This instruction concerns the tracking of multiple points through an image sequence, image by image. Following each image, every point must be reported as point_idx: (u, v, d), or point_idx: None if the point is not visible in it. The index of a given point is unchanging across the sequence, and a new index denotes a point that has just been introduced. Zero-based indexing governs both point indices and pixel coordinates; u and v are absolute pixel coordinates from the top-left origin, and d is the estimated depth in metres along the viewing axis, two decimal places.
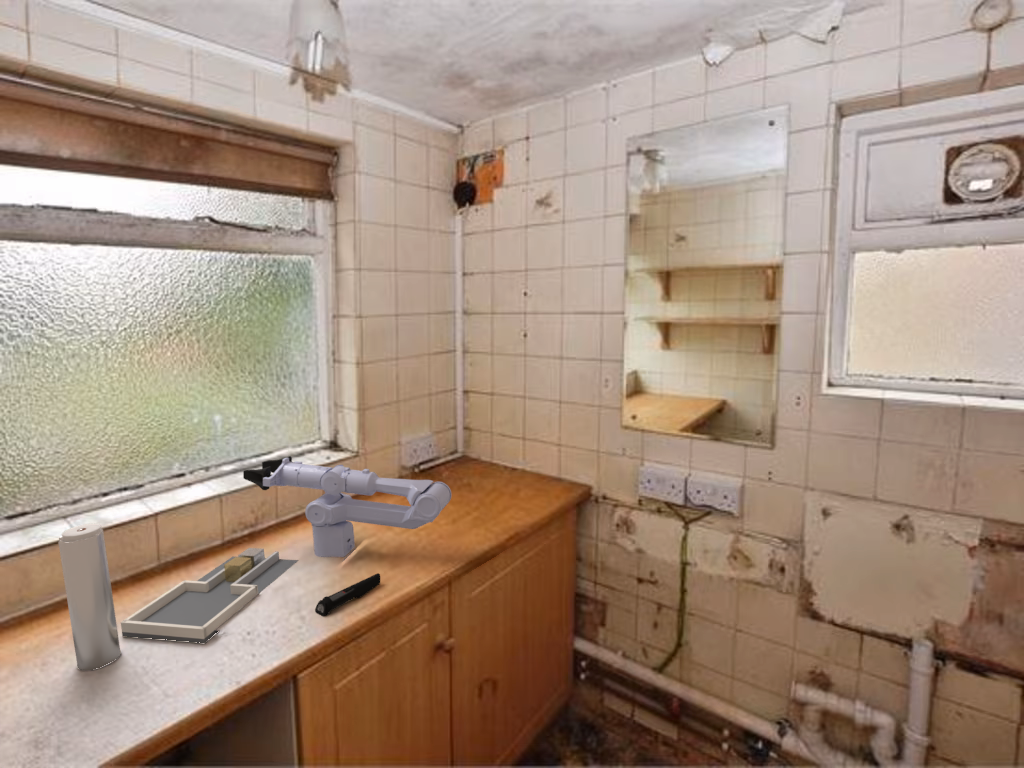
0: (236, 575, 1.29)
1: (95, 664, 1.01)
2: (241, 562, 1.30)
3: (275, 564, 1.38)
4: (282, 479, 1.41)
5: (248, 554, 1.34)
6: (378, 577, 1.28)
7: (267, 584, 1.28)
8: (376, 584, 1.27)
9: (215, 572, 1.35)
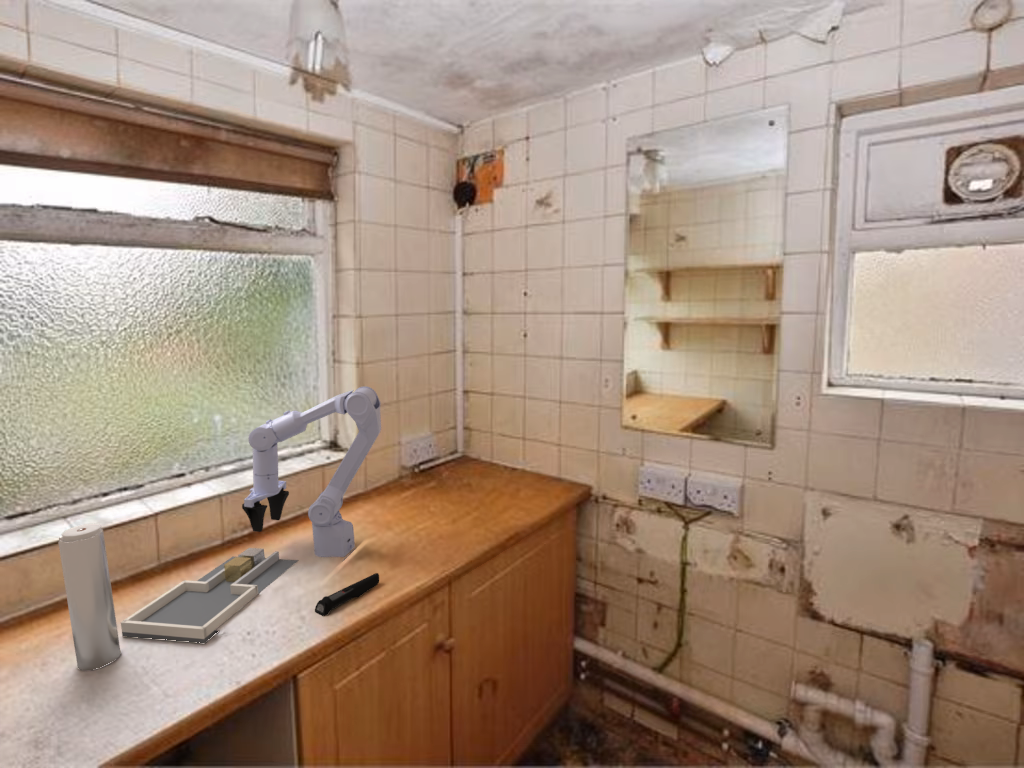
0: (236, 575, 1.29)
1: (95, 664, 1.01)
2: (241, 562, 1.30)
3: (275, 564, 1.38)
4: (261, 491, 1.39)
5: (248, 554, 1.34)
6: (377, 577, 1.28)
7: (267, 584, 1.28)
8: (375, 584, 1.27)
9: (215, 572, 1.35)
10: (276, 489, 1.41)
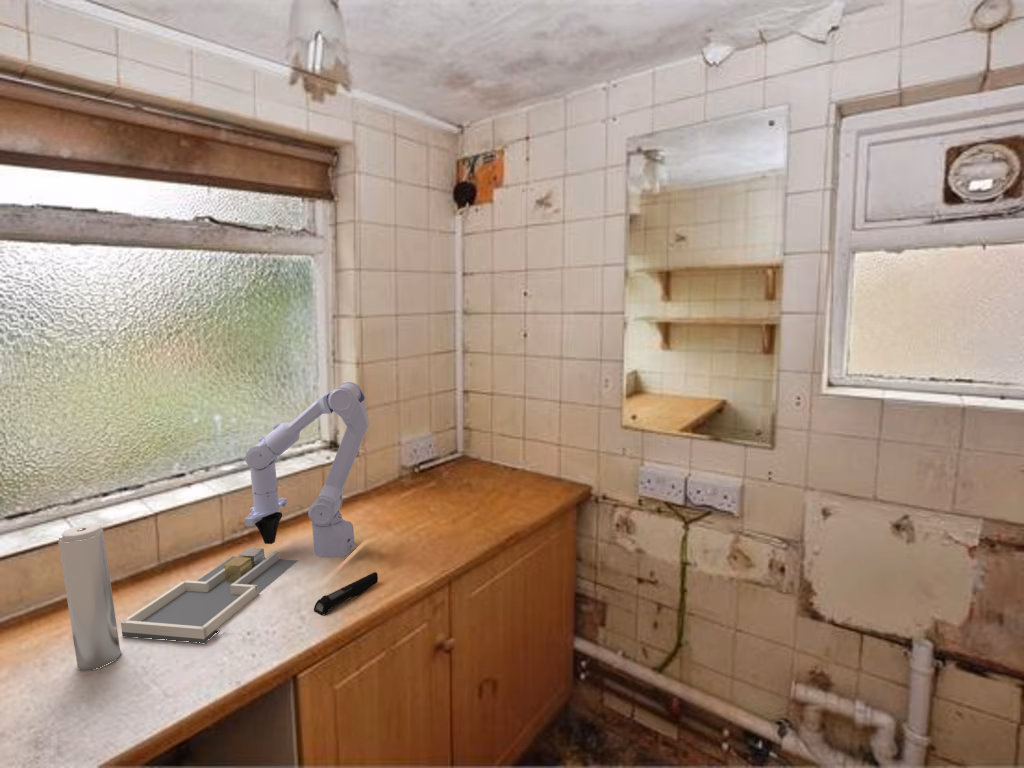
0: (236, 575, 1.29)
1: (95, 664, 1.01)
2: (241, 562, 1.30)
3: (275, 564, 1.38)
4: (261, 510, 1.39)
5: (248, 554, 1.34)
6: (375, 576, 1.28)
7: (267, 584, 1.28)
8: (374, 583, 1.27)
9: (215, 572, 1.35)
10: (276, 506, 1.41)
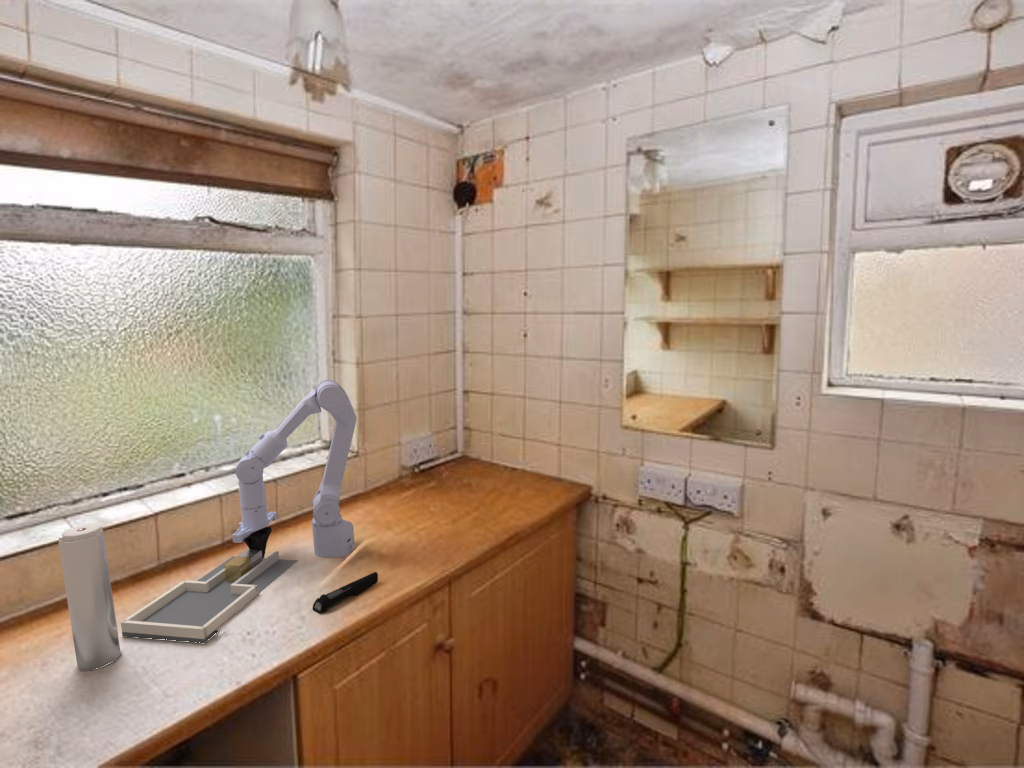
0: (236, 575, 1.29)
1: (95, 664, 1.01)
2: (241, 562, 1.30)
3: (275, 564, 1.38)
4: (249, 525, 1.35)
5: (246, 556, 1.34)
6: (375, 575, 1.28)
7: (267, 584, 1.28)
8: (374, 583, 1.27)
9: (215, 572, 1.35)
10: (265, 521, 1.37)
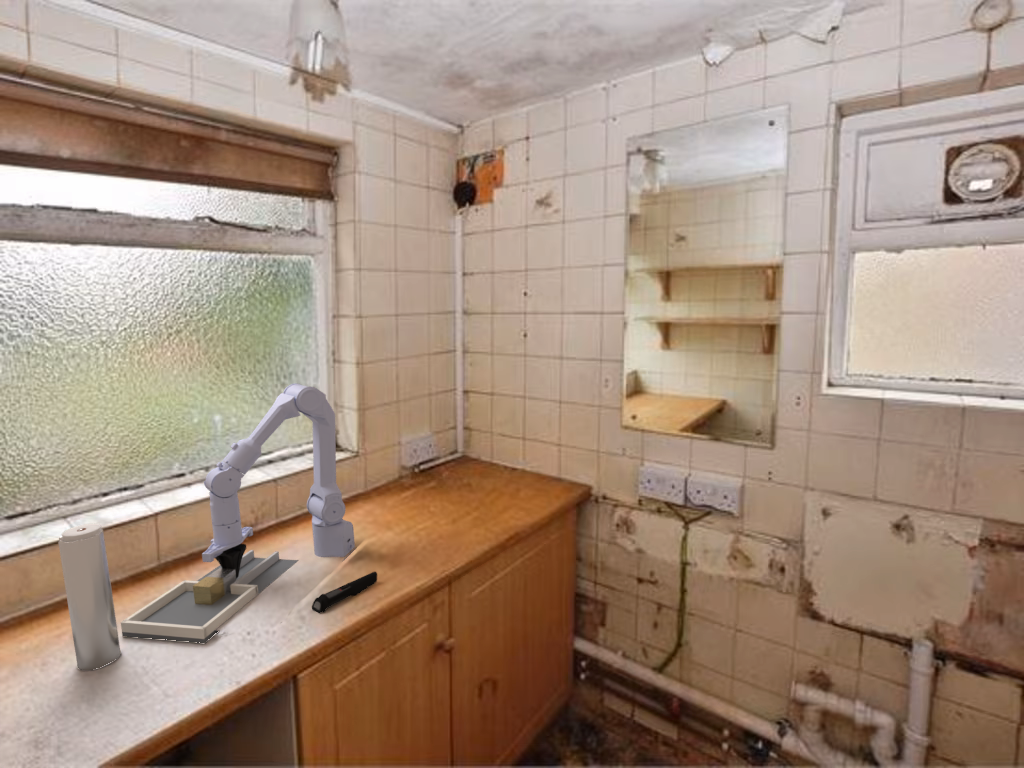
0: (206, 597, 1.20)
1: (95, 664, 1.01)
2: (211, 583, 1.21)
3: (275, 564, 1.38)
4: (222, 542, 1.25)
5: (218, 576, 1.24)
6: (375, 575, 1.29)
7: (267, 584, 1.28)
8: (373, 582, 1.28)
9: None
10: (239, 538, 1.27)
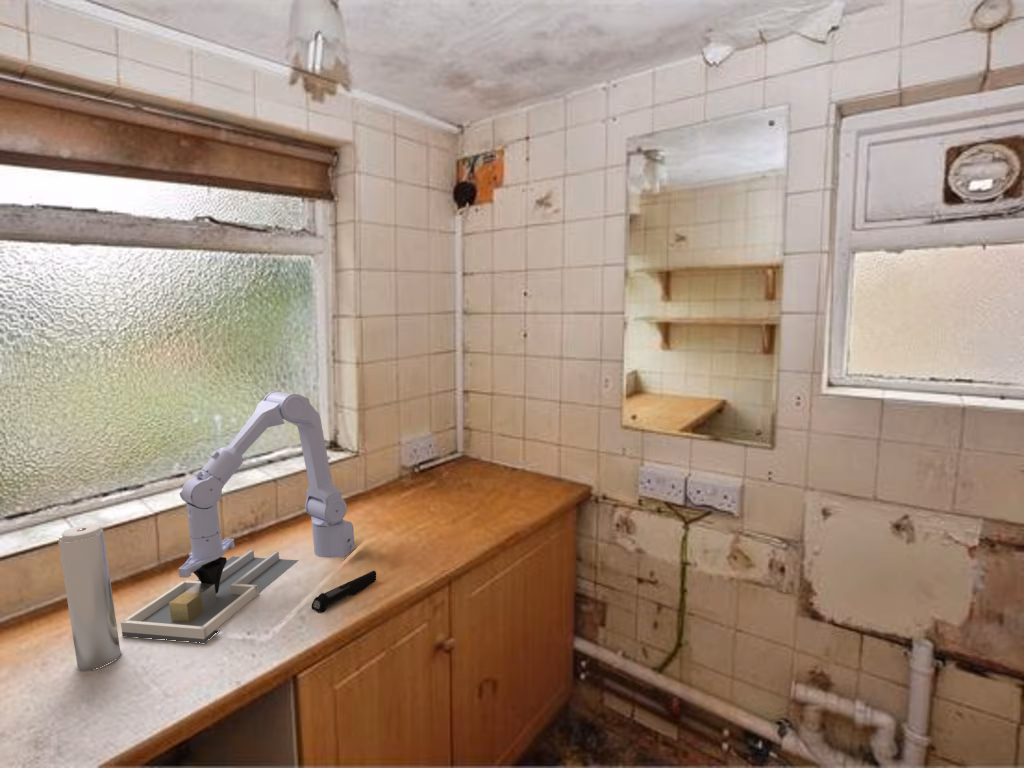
0: (183, 614, 1.13)
1: (95, 664, 1.01)
2: (189, 599, 1.14)
3: (275, 564, 1.38)
4: (200, 556, 1.19)
5: (195, 591, 1.17)
6: (374, 574, 1.29)
7: (267, 584, 1.28)
8: (372, 581, 1.28)
9: None
10: (219, 551, 1.21)
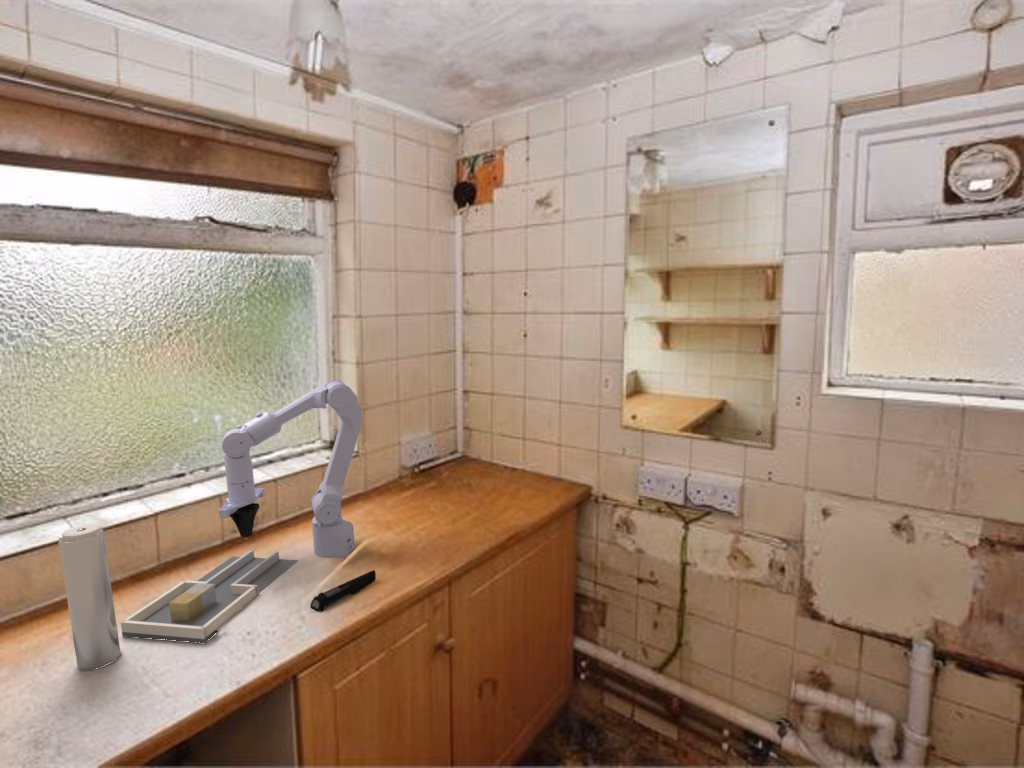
0: (183, 614, 1.13)
1: (95, 664, 1.01)
2: (189, 599, 1.14)
3: (275, 564, 1.38)
4: (236, 500, 1.32)
5: (195, 591, 1.17)
6: (373, 574, 1.29)
7: (267, 584, 1.28)
8: (372, 581, 1.28)
9: (215, 572, 1.35)
10: (253, 497, 1.34)
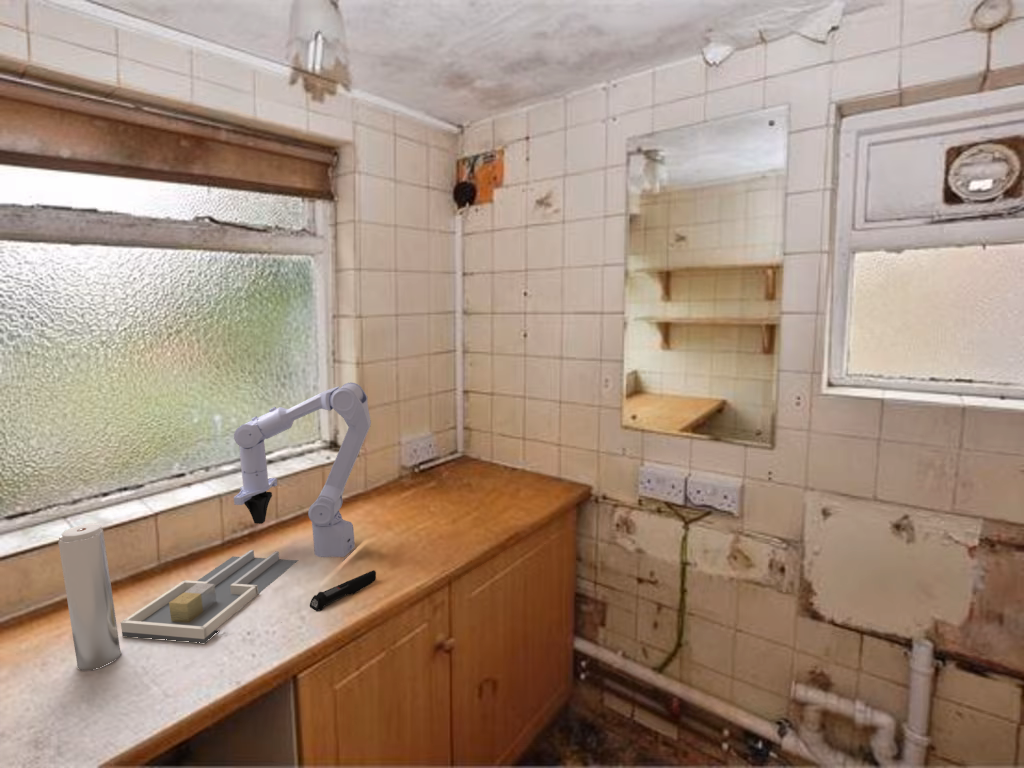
0: (183, 614, 1.13)
1: (95, 664, 1.01)
2: (189, 599, 1.14)
3: (275, 564, 1.38)
4: (250, 489, 1.38)
5: (195, 591, 1.17)
6: (374, 574, 1.29)
7: (267, 584, 1.28)
8: (372, 581, 1.28)
9: (215, 572, 1.35)
10: (266, 486, 1.40)
